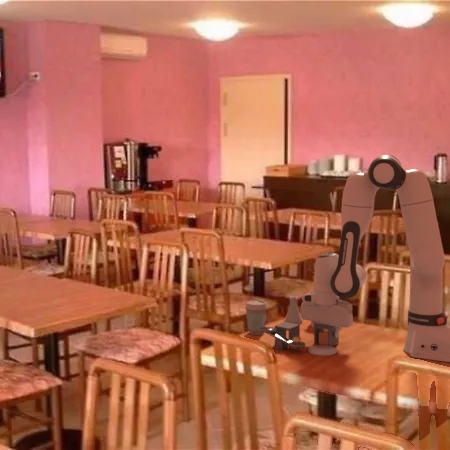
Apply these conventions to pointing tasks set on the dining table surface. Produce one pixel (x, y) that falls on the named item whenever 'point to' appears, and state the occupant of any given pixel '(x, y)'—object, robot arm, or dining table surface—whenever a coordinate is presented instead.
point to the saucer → (322, 350)
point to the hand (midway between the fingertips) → (326, 335)
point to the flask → (293, 312)
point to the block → (323, 337)
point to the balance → (283, 339)
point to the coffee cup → (256, 316)
